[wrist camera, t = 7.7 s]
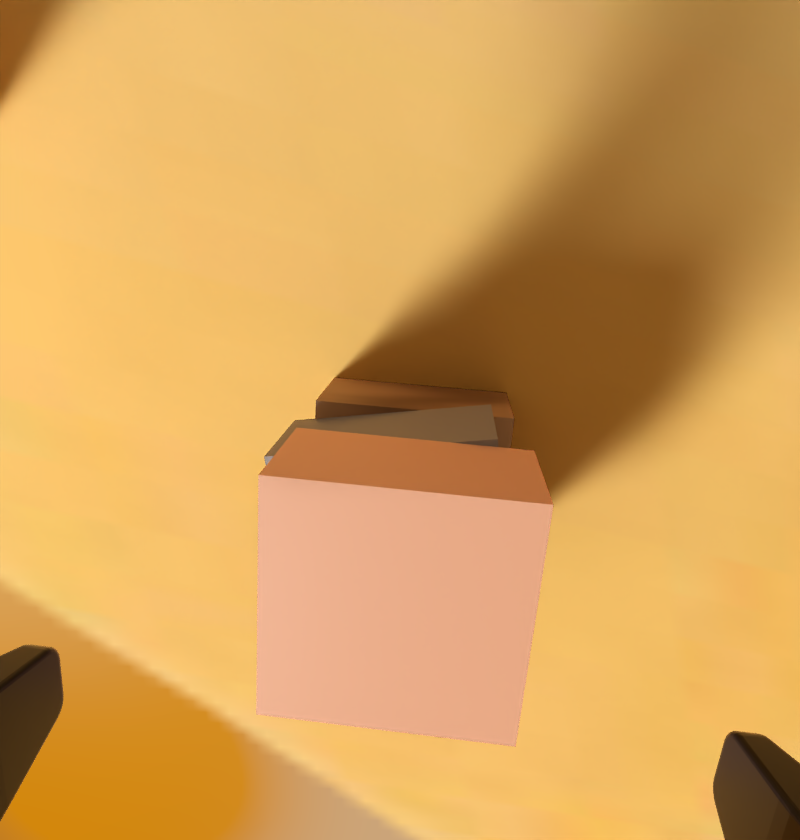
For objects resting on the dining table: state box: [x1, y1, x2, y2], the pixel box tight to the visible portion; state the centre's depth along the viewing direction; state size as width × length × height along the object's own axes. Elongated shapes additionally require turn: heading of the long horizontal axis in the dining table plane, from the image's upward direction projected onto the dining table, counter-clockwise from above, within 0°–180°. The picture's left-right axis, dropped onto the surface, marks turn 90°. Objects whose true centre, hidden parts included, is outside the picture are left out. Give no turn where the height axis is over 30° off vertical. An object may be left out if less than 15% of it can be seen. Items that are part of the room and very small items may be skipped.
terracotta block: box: [256, 428, 553, 747], centre depth 14 cm, size 6×6×3 cm
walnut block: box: [315, 378, 514, 448], centre depth 20 cm, size 6×6×3 cm
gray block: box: [264, 404, 498, 465], centre depth 17 cm, size 6×6×3 cm
